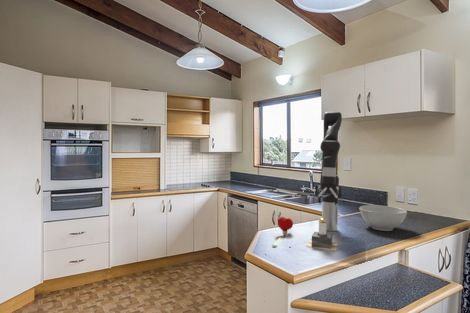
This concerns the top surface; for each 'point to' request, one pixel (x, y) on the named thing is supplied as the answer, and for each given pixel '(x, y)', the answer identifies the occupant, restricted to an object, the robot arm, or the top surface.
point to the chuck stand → (322, 242)
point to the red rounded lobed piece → (285, 224)
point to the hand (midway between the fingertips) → (327, 204)
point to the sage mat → (277, 242)
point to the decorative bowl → (383, 216)
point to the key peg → (322, 227)
